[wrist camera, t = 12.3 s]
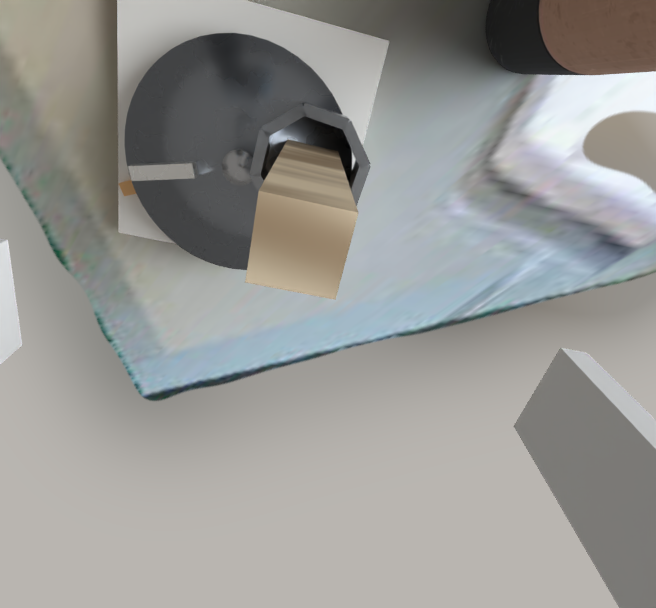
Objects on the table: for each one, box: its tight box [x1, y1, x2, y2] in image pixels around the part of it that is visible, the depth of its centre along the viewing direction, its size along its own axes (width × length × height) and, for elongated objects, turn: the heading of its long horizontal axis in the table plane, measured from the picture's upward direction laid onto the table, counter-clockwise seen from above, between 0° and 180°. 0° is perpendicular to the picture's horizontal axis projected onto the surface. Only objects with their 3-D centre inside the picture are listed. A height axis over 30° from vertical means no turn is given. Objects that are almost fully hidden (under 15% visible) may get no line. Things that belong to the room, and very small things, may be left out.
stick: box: [245, 140, 358, 299], centre depth 22 cm, size 4×4×16 cm
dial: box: [124, 33, 370, 270], centre depth 29 cm, size 16×16×5 cm
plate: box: [117, 0, 390, 244], centre depth 32 cm, size 18×18×2 cm
